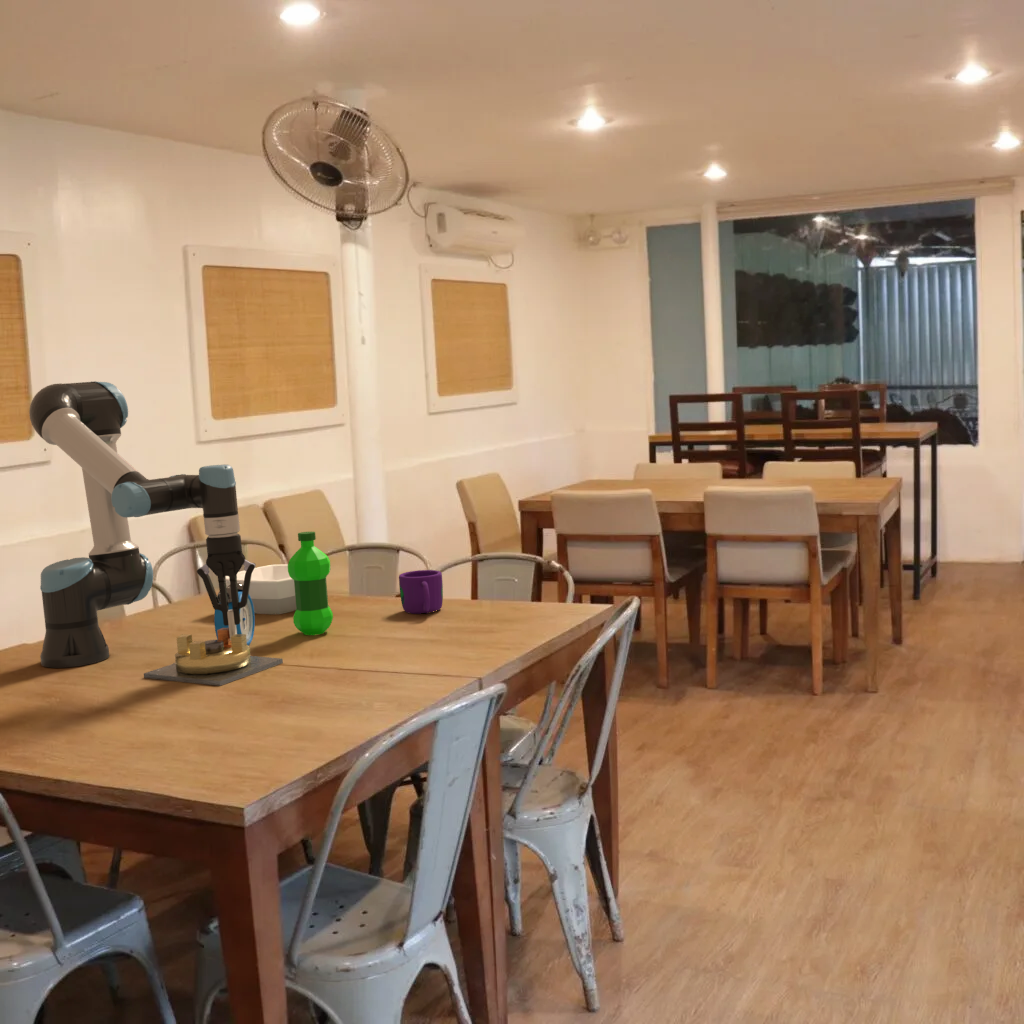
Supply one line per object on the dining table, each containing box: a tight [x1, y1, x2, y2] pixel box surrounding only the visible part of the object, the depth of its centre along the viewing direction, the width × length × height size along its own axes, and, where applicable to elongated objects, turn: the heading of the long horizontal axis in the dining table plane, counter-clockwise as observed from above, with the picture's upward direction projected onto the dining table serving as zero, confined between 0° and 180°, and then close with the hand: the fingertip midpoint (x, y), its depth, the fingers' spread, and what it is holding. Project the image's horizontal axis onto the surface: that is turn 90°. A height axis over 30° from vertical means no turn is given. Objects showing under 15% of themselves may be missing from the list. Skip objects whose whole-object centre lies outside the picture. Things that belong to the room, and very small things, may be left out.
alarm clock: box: [213, 583, 256, 647], centre depth 290 cm, size 13×6×15 cm, turn 176°
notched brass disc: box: [174, 628, 251, 674], centre depth 268 cm, size 16×16×6 cm
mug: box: [398, 569, 444, 615], centre depth 319 cm, size 17×11×10 cm, turn 12°
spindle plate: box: [143, 655, 284, 687], centre depth 269 cm, size 22×20×1 cm
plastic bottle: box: [287, 531, 334, 636], centre depth 300 cm, size 10×10×25 cm
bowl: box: [226, 563, 331, 615], centre depth 336 cm, size 24×25×10 cm
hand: (233, 639), depth 273 cm, fingers closed
